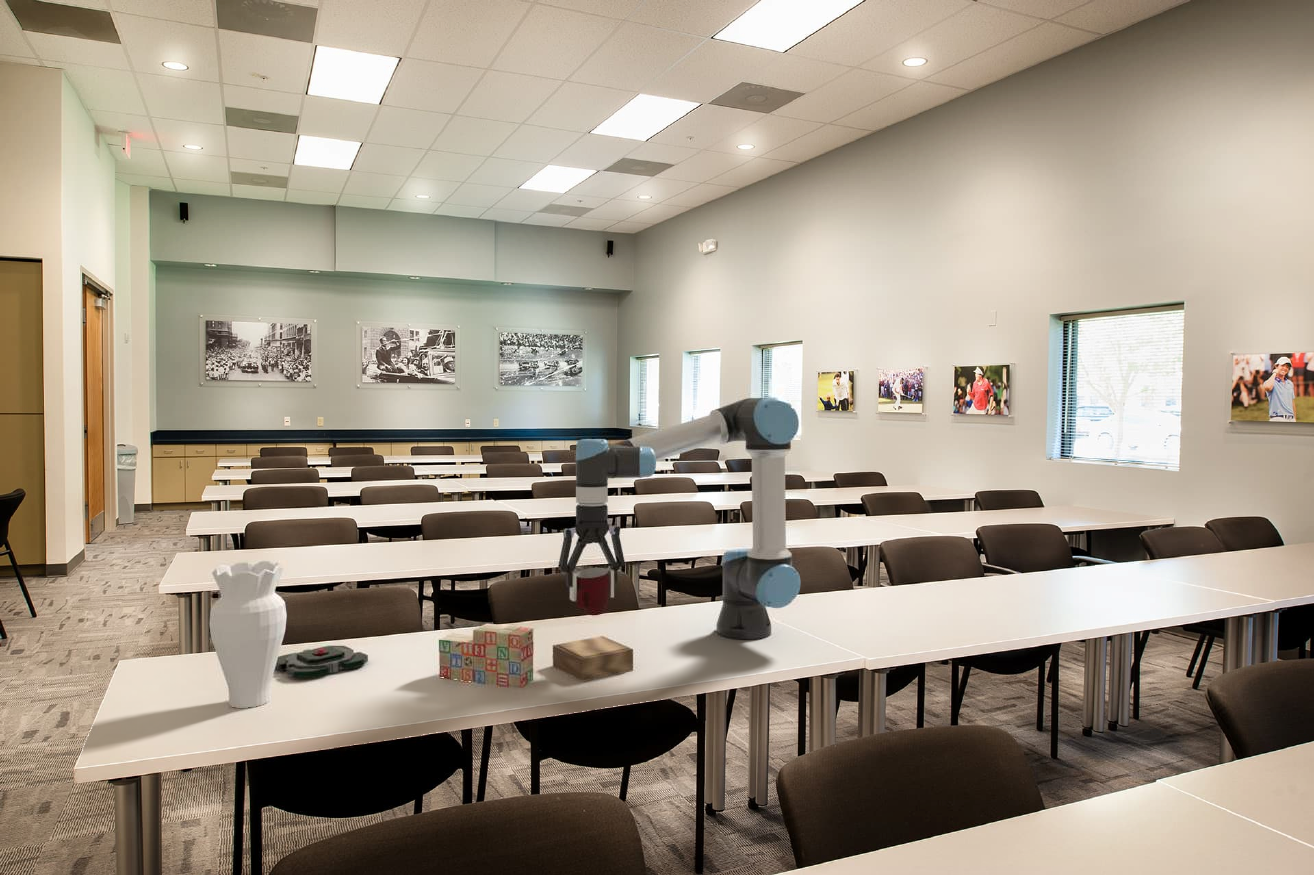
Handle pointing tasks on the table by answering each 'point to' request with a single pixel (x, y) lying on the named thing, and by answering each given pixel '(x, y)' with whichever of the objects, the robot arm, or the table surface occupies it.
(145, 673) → the table surface
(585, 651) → the walnut block
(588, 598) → the mug
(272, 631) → the vase
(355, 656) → the four-lobed dark green device
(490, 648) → the stack of blocks
